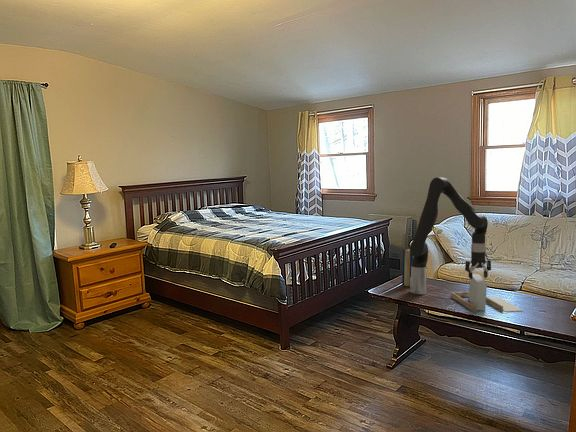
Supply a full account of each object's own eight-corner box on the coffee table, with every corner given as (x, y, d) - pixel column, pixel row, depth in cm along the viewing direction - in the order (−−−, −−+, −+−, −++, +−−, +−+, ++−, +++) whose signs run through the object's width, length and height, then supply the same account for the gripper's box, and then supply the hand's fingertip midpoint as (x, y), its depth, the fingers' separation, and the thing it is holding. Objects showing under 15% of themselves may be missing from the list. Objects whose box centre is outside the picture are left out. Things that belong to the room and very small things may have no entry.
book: (417, 279, 309) (418, 244, 305) (427, 281, 303) (427, 245, 300) (401, 286, 294) (401, 249, 290) (411, 288, 288) (411, 250, 285)
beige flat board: (505, 312, 239) (505, 311, 239) (482, 298, 263) (482, 297, 263) (523, 311, 240) (523, 310, 240) (498, 297, 264) (498, 297, 264)
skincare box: (486, 311, 242) (487, 283, 240) (475, 310, 243) (476, 282, 241) (477, 299, 262) (478, 273, 260) (468, 299, 263) (468, 273, 261)
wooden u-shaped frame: (474, 313, 239) (475, 307, 239) (451, 297, 268) (451, 292, 267) (502, 311, 240) (503, 306, 240) (476, 295, 269) (476, 291, 268)
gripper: (486, 248, 253) (486, 275, 255) (463, 249, 252) (462, 277, 254) (494, 251, 245) (493, 279, 247) (469, 252, 244) (469, 280, 246)
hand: (477, 278), depth 250 cm, fingers open, 8 cm apart
